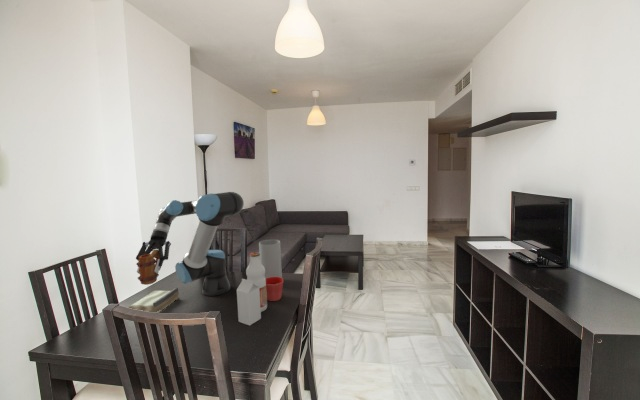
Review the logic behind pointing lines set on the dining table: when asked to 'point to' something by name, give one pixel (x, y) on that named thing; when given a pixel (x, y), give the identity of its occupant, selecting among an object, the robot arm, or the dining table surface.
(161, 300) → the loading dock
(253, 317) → the milk carton
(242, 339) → the dining table surface
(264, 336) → the dining table surface
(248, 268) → the fruit juice
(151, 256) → the mug
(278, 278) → the flower pot
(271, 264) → the cylinder vase
